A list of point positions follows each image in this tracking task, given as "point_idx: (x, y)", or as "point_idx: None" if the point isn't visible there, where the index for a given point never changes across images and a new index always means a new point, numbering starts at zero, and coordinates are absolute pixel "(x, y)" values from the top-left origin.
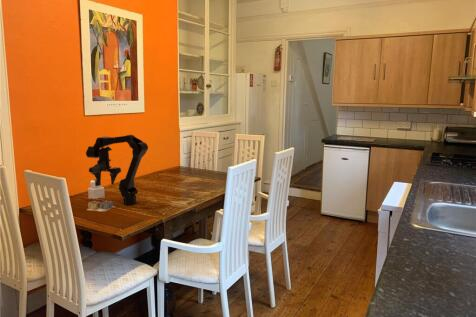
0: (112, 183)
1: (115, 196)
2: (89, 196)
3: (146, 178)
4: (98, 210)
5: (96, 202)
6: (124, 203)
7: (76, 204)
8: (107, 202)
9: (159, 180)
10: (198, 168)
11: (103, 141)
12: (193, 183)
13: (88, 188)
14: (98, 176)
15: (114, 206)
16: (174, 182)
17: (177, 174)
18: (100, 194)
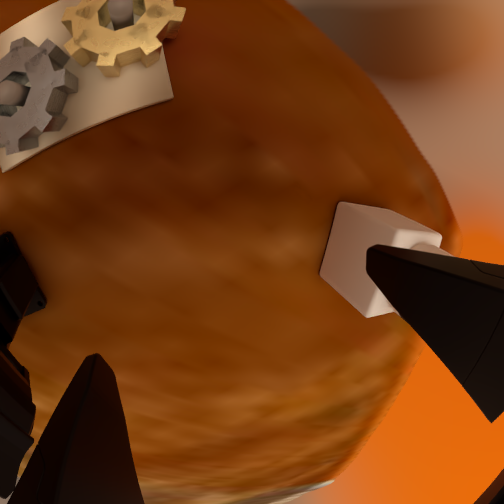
0: (80, 376)
1: (288, 333)
2: (393, 213)
3: (339, 445)
4: (37, 19)
5: (111, 30)
6: (7, 259)
7: (370, 86)
8: (18, 112)
9: (291, 466)
10: (278, 500)
11: None
12: (173, 499)
13: (437, 234)
14: (475, 325)
15: (6, 163)
16: (231, 485)
17: (287, 485)
18: (346, 262)
